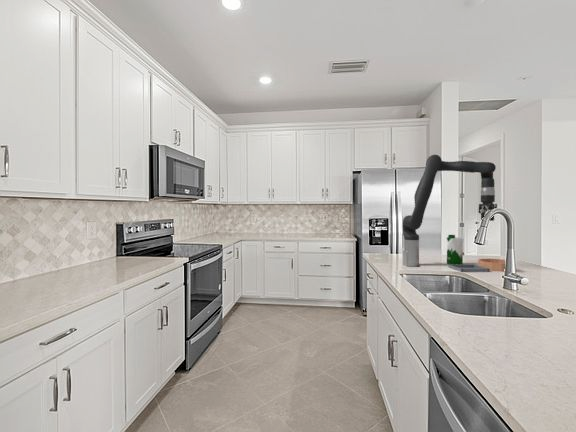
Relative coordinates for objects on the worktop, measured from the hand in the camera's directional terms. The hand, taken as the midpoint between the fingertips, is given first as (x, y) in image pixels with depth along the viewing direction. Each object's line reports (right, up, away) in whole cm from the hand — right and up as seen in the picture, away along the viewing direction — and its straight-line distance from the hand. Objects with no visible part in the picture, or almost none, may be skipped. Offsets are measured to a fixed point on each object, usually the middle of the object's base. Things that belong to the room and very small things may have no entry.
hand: (487, 220), depth 197 cm
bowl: (+1, -30, -6) cm, 31 cm away
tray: (-17, -30, -8) cm, 36 cm away
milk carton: (-14, -30, +13) cm, 35 cm away
